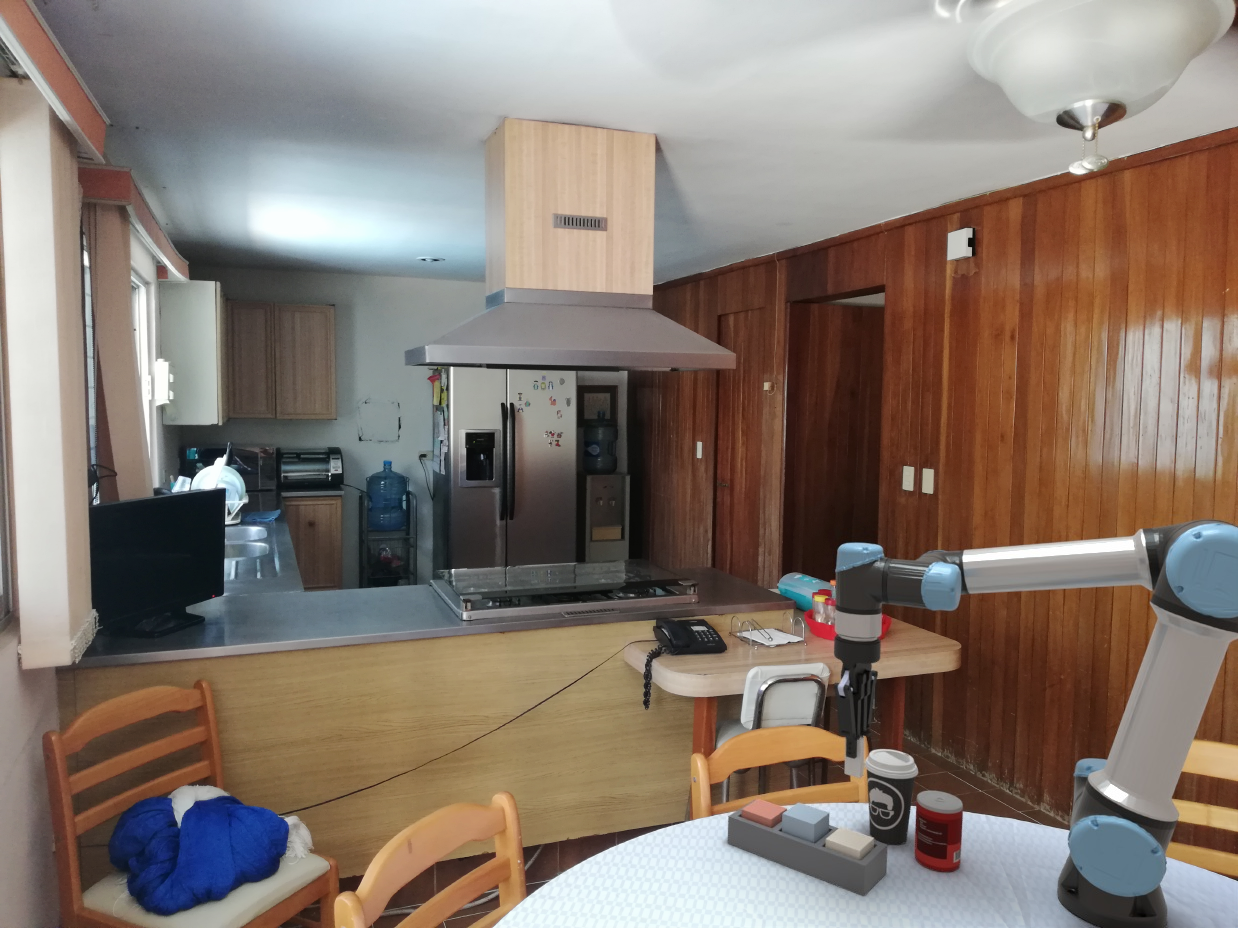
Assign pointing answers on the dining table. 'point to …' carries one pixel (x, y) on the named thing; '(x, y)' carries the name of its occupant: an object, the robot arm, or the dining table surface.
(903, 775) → the coffee cup
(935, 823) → the canned food
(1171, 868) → the dining table surface
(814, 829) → the key blue
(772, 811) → the key brick
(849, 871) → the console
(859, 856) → the key ivory
